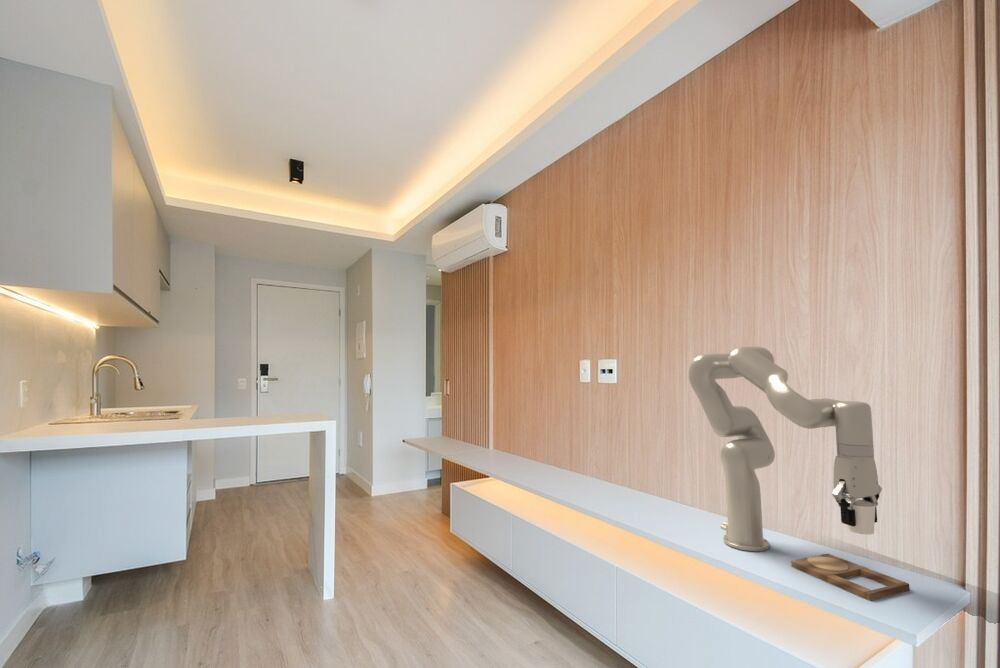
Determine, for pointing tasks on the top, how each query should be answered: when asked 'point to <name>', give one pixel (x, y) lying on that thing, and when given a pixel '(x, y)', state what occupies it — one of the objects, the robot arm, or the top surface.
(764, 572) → the top surface
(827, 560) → the pocket board
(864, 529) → the cream short cylinder
